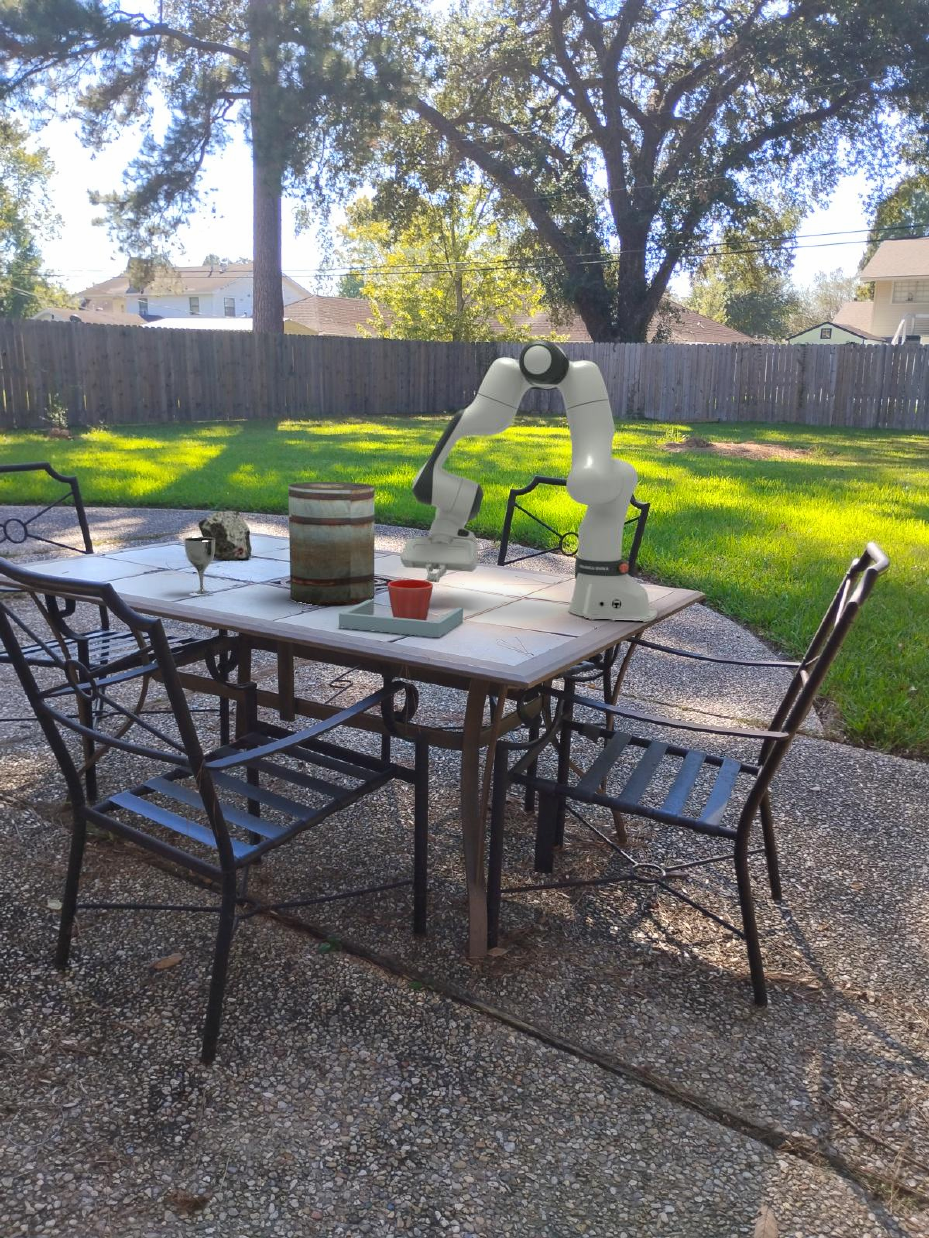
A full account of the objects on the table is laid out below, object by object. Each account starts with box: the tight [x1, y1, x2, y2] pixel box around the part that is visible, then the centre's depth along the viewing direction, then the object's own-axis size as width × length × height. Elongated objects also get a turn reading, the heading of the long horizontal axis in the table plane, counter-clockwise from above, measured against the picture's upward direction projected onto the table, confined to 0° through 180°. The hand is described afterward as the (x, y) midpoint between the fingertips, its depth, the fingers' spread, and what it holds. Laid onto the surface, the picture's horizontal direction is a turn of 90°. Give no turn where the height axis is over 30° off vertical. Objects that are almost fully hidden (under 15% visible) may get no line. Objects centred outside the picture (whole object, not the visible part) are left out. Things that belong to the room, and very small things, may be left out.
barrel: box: [288, 481, 375, 607], centre depth 266 cm, size 22×22×30 cm
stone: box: [197, 510, 252, 562], centre depth 327 cm, size 19×18×15 cm
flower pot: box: [387, 579, 434, 621], centre depth 241 cm, size 11×11×10 cm
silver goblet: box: [184, 536, 215, 594], centre depth 268 cm, size 8×8×15 cm
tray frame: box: [338, 599, 464, 638], centre depth 239 cm, size 25×18×4 cm
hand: (432, 580), depth 257 cm, fingers closed
